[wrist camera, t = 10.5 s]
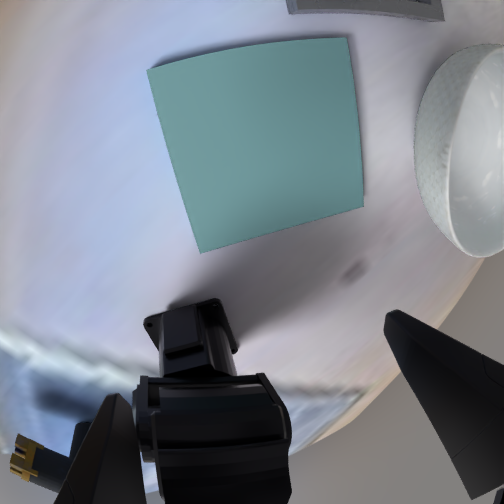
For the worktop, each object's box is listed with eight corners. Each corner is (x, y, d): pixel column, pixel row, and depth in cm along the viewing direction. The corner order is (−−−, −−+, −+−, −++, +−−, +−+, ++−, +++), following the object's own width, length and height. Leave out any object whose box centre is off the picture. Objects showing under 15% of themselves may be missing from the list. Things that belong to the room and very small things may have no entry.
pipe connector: (27, 412, 27) (2, 510, 14) (30, 394, 26) (0, 504, 13) (106, 446, 32) (99, 545, 19) (117, 432, 30) (111, 543, 17)
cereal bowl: (408, 4, 15) (479, -3, 9) (512, 91, 20) (564, 107, 14) (355, 205, 23) (412, 251, 17) (469, 231, 28) (514, 265, 22)
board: (356, 201, 22) (363, 206, 22) (198, 246, 21) (200, 253, 20) (338, 38, 16) (346, 37, 15) (147, 70, 15) (146, 70, 14)
